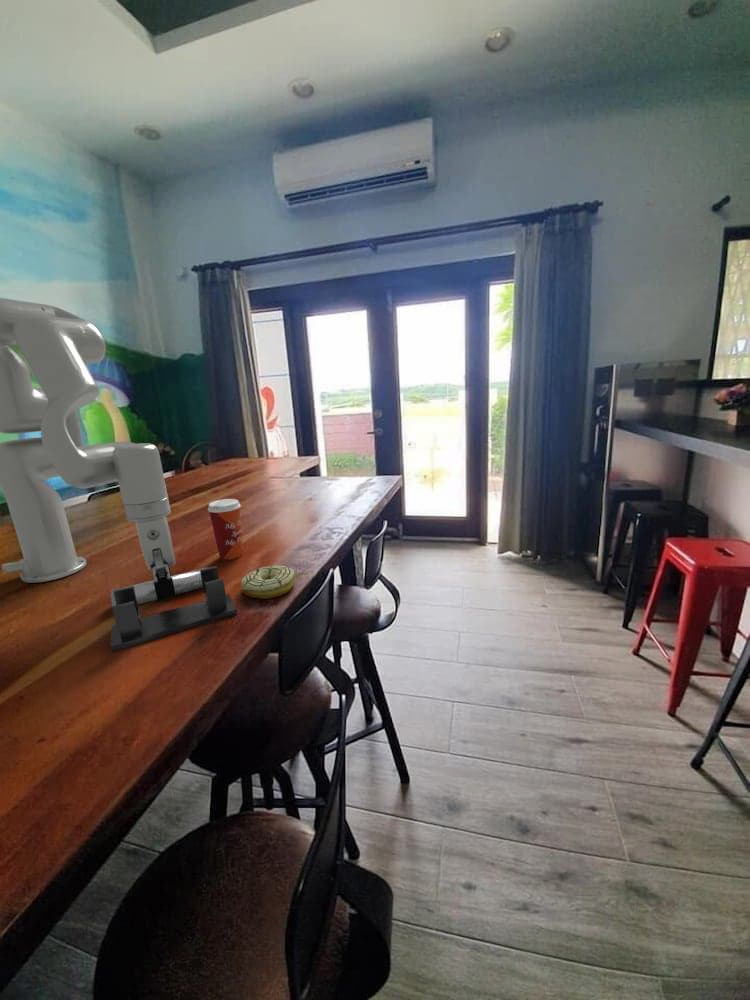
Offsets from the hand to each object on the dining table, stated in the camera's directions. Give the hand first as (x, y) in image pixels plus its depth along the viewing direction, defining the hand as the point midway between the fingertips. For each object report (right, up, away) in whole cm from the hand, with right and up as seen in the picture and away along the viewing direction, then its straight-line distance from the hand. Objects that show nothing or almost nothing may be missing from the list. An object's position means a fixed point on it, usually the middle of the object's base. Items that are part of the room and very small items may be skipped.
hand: (165, 588), depth 83 cm
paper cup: (+7, +4, +20) cm, 21 cm away
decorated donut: (+21, -1, +2) cm, 21 cm away
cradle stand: (+7, -4, -9) cm, 12 cm away
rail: (-1, 0, +1) cm, 1 cm away
